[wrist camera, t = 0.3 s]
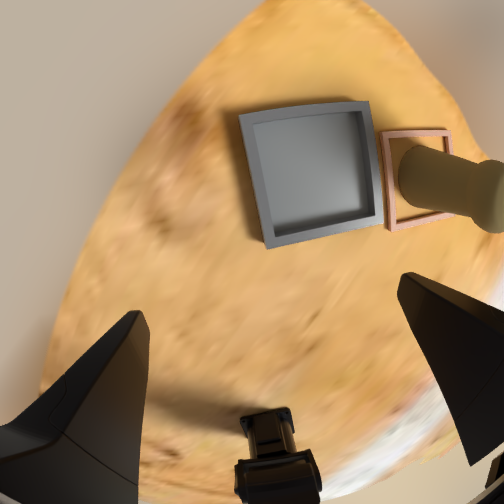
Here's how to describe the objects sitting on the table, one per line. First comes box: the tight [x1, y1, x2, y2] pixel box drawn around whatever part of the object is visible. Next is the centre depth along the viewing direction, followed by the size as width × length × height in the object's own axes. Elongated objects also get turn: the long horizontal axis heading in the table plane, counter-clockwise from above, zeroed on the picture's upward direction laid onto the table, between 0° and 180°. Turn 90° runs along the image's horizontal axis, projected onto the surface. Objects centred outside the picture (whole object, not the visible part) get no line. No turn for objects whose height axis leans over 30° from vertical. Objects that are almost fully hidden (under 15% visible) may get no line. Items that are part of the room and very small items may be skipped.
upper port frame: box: [379, 130, 455, 232], centre depth 22 cm, size 9×9×1 cm
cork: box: [398, 146, 504, 233], centre depth 17 cm, size 6×6×11 cm
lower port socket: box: [238, 101, 384, 249], centre depth 20 cm, size 10×10×2 cm
